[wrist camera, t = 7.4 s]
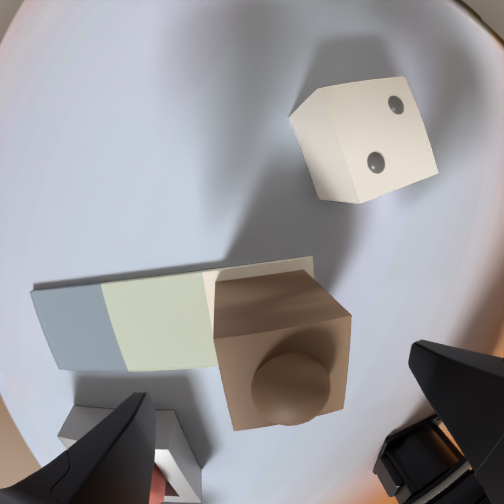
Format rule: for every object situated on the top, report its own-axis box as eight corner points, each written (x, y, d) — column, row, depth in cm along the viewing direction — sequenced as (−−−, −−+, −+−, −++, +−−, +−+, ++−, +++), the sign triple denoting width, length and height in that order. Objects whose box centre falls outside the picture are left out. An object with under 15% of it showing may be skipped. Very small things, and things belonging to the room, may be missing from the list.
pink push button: (156, 433, 13) (148, 478, 10) (176, 468, 14) (173, 507, 11) (97, 429, 13) (82, 467, 9) (122, 464, 14) (113, 500, 10)
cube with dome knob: (303, 269, 12) (376, 339, 6) (306, 344, 13) (358, 436, 7) (215, 281, 12) (212, 371, 6) (227, 357, 13) (237, 463, 7)
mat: (311, 255, 13) (313, 257, 12) (313, 347, 14) (315, 350, 13) (32, 290, 11) (29, 291, 11) (61, 366, 12) (59, 369, 12)
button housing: (174, 410, 14) (168, 449, 11) (201, 470, 15) (201, 502, 12) (73, 405, 13) (57, 436, 10) (115, 466, 15) (107, 494, 12)
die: (358, 101, 11) (407, 74, 7) (385, 175, 12) (441, 173, 8) (287, 118, 11) (319, 86, 7) (318, 199, 12) (363, 204, 8)
